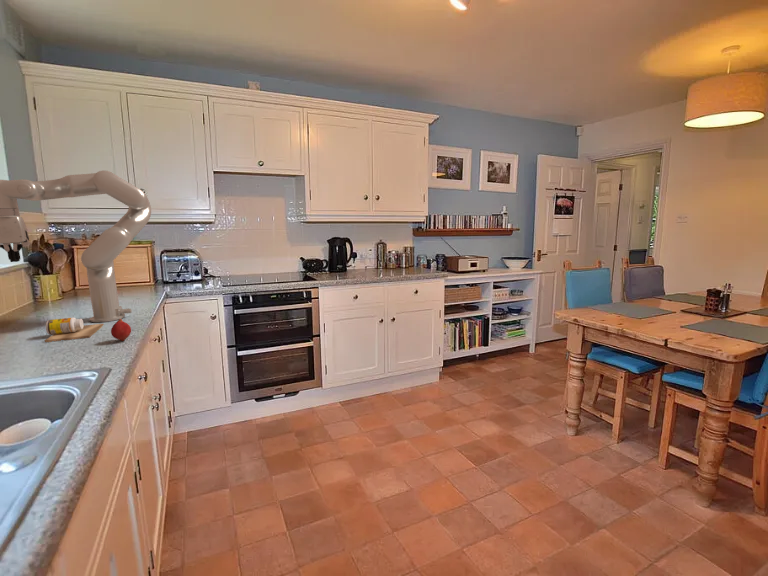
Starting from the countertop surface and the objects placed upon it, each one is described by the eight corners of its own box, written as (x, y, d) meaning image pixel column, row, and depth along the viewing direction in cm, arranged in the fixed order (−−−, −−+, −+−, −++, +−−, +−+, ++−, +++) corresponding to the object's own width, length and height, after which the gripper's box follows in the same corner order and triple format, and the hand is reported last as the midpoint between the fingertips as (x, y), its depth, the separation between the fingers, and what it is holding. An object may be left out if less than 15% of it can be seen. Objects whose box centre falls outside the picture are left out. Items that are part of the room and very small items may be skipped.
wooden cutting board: (103, 325, 158) (103, 323, 158) (89, 337, 141) (89, 335, 141) (64, 329, 153) (64, 327, 153) (45, 342, 137) (44, 340, 136)
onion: (111, 344, 133) (108, 322, 131) (114, 340, 138) (110, 318, 136) (131, 341, 135) (128, 319, 134) (133, 337, 140) (130, 316, 139)
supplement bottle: (50, 320, 145) (83, 316, 149) (51, 334, 145) (85, 331, 149) (44, 320, 140) (78, 316, 144) (45, 335, 140) (80, 331, 144)
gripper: (-26, 213, 141) (-16, 263, 144) (26, 213, 146) (34, 261, 149) (-14, 214, 148) (-5, 261, 151) (35, 213, 153) (43, 259, 156)
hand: (15, 261), depth 150 cm, fingers closed
